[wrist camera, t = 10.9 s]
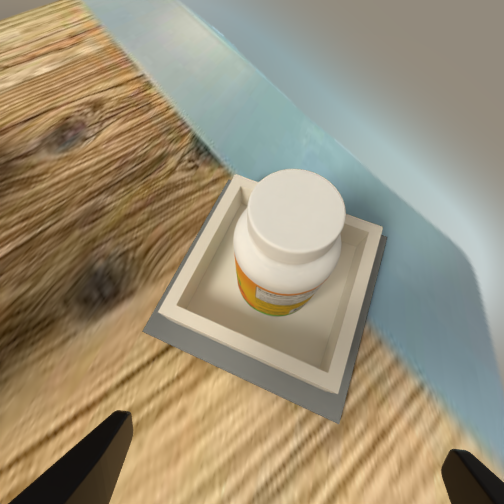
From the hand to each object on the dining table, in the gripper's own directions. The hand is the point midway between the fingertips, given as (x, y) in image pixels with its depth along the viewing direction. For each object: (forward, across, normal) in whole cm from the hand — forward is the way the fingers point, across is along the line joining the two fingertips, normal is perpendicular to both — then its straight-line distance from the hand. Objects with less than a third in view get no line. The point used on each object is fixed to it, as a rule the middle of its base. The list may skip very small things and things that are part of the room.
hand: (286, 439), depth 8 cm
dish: (+13, 0, +2) cm, 13 cm away
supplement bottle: (+13, 0, +2) cm, 13 cm away
